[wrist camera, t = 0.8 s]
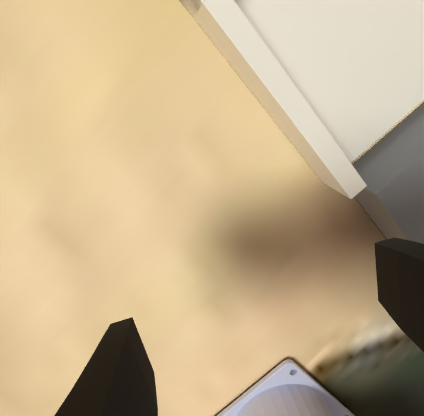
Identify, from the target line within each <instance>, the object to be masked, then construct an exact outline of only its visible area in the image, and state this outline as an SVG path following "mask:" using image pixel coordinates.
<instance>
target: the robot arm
mask: <svg viewBox="0 0 424 416" xmlns="http://www.w3.org/2000/svg"><path fill="white" fill-rule="evenodd" d="M375 256H376V271H377V286H378V300H379V302H380V303H381V304H382V306H383V307H384V308H385V310H386V311H387V312H388V314H389V315H390V316H391V317H392V319H393V320H394V321H395V322H396V324H397V325H398V326H399V327H400V329H401V330H402V331H403V332H404V333H405V334H406V335H407V336H408V337H409V338H410V339H411V340H412V341H413V342H414V343H415V344H416V345H417V346H418V347H419V348H420V349H421V350H422V351H423V352H424V244H422V243H418V242H414V241H410V240H405V239H400V238H395V237H394V238H390V239H387V240H384V241H380V242H377V243H375ZM291 370H292V371H291ZM55 416H158V408H157V396H156V386H155V377H154V371H153V368H152V366H151V363H150V361H149V358H148V356H147V353H146V351H145V348H144V346H143V343H142V341H141V338H140V336H139V333H138V331H137V328H136V325H135V323H134V320H133V318H129V319H125V320H122V321H119V322H115V323H112V324H110V326H109V328H108V329H107V331H106V332H105V334H104V336H103V338H102V339H101V341H100V343H99V344H98V346H97V348H96V350H95V351H94V353H93V355H92V357H91V358H90V360H89V362H88V363H87V365H86V367H85V369H84V370H83V372H82V373H81V375H80V377H79V378H78V380H77V382H76V383H75V385H74V387H73V388H72V390H71V392H70V393H69V395H68V396H67V398H66V399H65V401H64V402H63V404H62V405H61V407H60V408H59V410H58V411H57V413H56V414H55ZM217 416H355V415H354V414H353V413H352V412H350V411H349V410H348V409H347V408H346V407H345V406H344V405H342V404H341V403H340V402H339V401H338V400H337V399H336V398H335V397H333V396H332V395H331V394H330V393H329V392H328V391H327V390H326V389H324V388H323V387H322V386H321V385H320V384H319V383H318V382H317V381H315V380H314V379H313V378H312V377H311V376H310V375H309V374H307V373H306V372H305V371H304V370H303V369H302V368H301V367H300V366H298V365H297V364H296V363H295V362H294V361H293V360H291V359H287V360H285V361H283V362H282V363H281V364H279V365H278V366H277V367H276V368H274V369H273V370H272V371H271V372H270V373H268V374H267V375H266V376H265V377H263V378H262V379H261V380H260V381H258V382H257V383H256V384H255V385H254V386H252V387H251V388H250V389H249V390H247V391H246V392H245V393H244V394H243V395H241V396H240V397H239V398H238V399H236V400H235V401H234V402H233V403H232V404H230V405H229V406H228V407H227V408H225V409H224V410H223V411H222V412H221V413H219V414H218V415H217Z"/></svg>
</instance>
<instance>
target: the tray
mask: <svg viewBox="0 0 424 416" xmlns="http://www.w3.org/2000/svg"><path fill="white" fill-rule="evenodd" d="M179 1H180V2H181V3H182V4H183V6H184V7H185V8H186V10H187V11H188V12H189V13H190V15H191V16H192V17H193V18H194V20H195V21H196V22H197V24H198V25H199V26H200V27H201V29H202V30H203V31H204V33H205V34H206V35H207V36H208V38H209V39H210V40H211V42H212V43H213V44H214V45H215V47H216V48H217V49H218V50H219V52H220V53H221V54H222V56H223V57H224V58H225V59H226V61H227V62H228V63H229V65H230V66H231V67H232V68H233V70H234V71H235V72H236V73H237V75H238V76H239V77H240V79H241V80H242V81H243V82H244V84H245V85H246V86H247V88H248V89H249V90H250V91H251V93H252V94H253V95H254V96H255V98H256V99H257V100H258V102H259V103H260V104H261V105H262V107H263V108H264V109H265V111H266V112H267V113H268V114H269V116H270V117H271V118H272V120H273V121H274V122H275V123H276V125H277V126H278V127H279V128H280V130H281V131H282V132H283V134H284V135H285V136H286V137H287V139H288V140H289V141H290V143H291V144H292V145H293V146H294V148H295V149H296V150H297V151H298V153H299V154H300V155H301V157H302V158H303V159H304V160H305V162H306V163H307V164H308V166H309V167H310V168H311V169H312V171H313V172H314V173H315V174H316V176H317V177H318V178H319V180H320V181H321V182H322V183H324V184H326V185H327V186H329V187H331V188H333V189H334V190H336V191H338V192H339V193H341V194H343V195H344V196H346V197H348V198H350V199H352V198H353V197H355V196H356V195H357V194H358V193H359V192H360V191H362V190H363V189H364V188H365V187H366V186H367V185H366V184H365V182H364V181H363V179H362V178H361V177H360V175H359V174H358V172H357V171H356V170H355V168H354V167H353V165H352V164H351V163H352V162H353V161H354V160H355V159H356V158H357V157H358V156H360V155H361V154H362V153H363V152H364V151H365V150H366V149H368V148H369V147H370V146H371V145H372V144H373V143H374V142H376V141H377V140H378V139H379V138H380V137H381V136H383V135H384V134H385V133H386V132H387V131H388V130H389V129H391V128H392V127H393V126H394V125H395V124H396V123H397V122H399V121H400V120H401V119H402V118H403V117H404V116H405V115H407V114H408V113H409V112H410V111H411V110H412V109H413V108H415V107H416V106H417V105H418V104H419V103H420V102H421V101H423V100H424V0H179Z"/></svg>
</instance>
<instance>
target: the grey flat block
mask: <svg viewBox="0 0 424 416" xmlns="http://www.w3.org/2000/svg"><path fill="white" fill-rule="evenodd" d="M353 167H354V168H355V170H356V171H357V172H358V174H359V175H360V177H361V178H362V179H363V181H364V182H365V184H366V185H367V186H366V187H365V188H364V189H363V190H362V191H360V192H359V193H358V194H357V195H356V196H355V198H356V199H357V201H358V202H359V203H360V205H361V206H362V207H363V209H364V210H365V211H366V213H367V214H368V215H369V217H370V218H371V219H372V221H373V222H374V223H375V225H376V226H377V227H378V229H379V230H380V231H381V233H382V234H383V235H384V237H385V238H386V239H390V238H394V237H395V238H400V239H405V240H410V241H414V242H418V243H422V244H424V103H422V104H421V105H420V106H419V107H418V108H417V109H416V110H414V111H413V112H412V113H411V114H410V115H409V116H408V117H406V118H405V119H404V120H403V121H402V122H401V123H400V124H398V125H397V126H396V127H395V128H394V129H393V130H391V131H390V132H389V133H388V134H387V135H386V136H385V137H383V138H382V139H381V140H380V141H379V142H378V143H377V144H375V145H374V146H373V147H372V148H371V149H370V150H369V151H367V152H366V153H365V154H364V155H363V156H362V157H361V158H359V159H358V160H357V161H356V162H355V163H354V164H353Z"/></svg>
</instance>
